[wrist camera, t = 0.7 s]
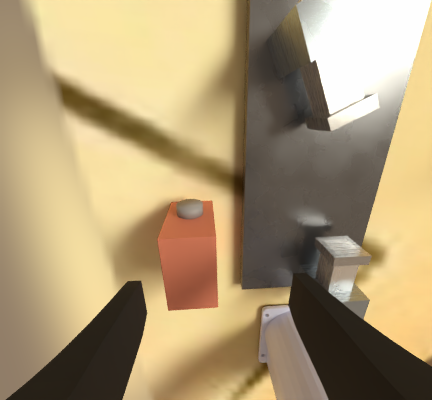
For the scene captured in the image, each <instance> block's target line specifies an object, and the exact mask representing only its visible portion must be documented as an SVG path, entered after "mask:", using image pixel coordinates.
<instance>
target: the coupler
mask: <svg viewBox="0 0 432 400" xmlns="http://www.w3.org/2000/svg"><path fill="white" fill-rule="evenodd" d="M157 241H158V247H159V254H160V260H161V267H162V273H163V280H164V286H165V293H166V299H167V306H168V311H170V310H185V309H200V308H215V307H218V291H217V257H216V233H215V223H214V213H213V204H212V201H200V200H196V199H187V200H182V201H180V202H172V203H171V205H170V208H169V210H168V213H167V216H166V218H165V221H164V223H163V226H162V229H161V231H160V234H159V236H158V239H157Z"/></svg>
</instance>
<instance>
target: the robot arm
mask: <svg viewBox="0 0 432 400" xmlns="http://www.w3.org/2000/svg"><path fill="white" fill-rule="evenodd" d="M146 316H147V310H146V304H145V299H144V293H143V288H142V283H141V281H128V282H127V283H126V284H125V285H124V286H123V287H122V288H121V289H120V290H119V291H118V293H117V294H116V295H115V296H114V297H113V298H112V299H111V301H110V302H109V303H108V304H107V305H106V306H105V307H104V308H103V309H102V310H101V312H99V314H98V315H97V316H96V317H95V318H94V319H93V320H92V321H91V322H90V323H89V324H88V325H87V326H86V327H85V328H84V329H83V330H82V331H81V332H80V333H79V334H78V335H77V337H75V338H74V339H73V340H72V341H71V343H69V344H68V345H67V346H66V347H65V348H64V349H63V350H62V351H61V352H60V353H59V354H58V355H57V356H56V357H55V358H54V359H53V360H51V362H49V363H48V364H47V365H46V366H45V367H44V368H43V369H42V370H40V371H39V372H38V373H37V374H36V375H35V376H34V377H33V378H32V379H30V380H29V381H28V382H27V383H26V384H24V385H23V386H22V387H21V388H20V389H18V390H17V391H16V392H15V393H13V394H12V395H11V396H10V397H9V398H7V399H6V400H122V399H123V396H124V393H125V390H126V386H127V383H128V380H129V377H130V374H131V371H132V368H133V364H134V362H135V358H136V355H137V352H138V349H139V346H140V343H141V339H142V336H143V331H144V326H145V321H146ZM258 360H259V362H260V363H267V365H268V369H269V373H270V377H271V380H272V384H273V388H274V392H275V396H276V400H432V367H431V366H430V365H428V364H427V363H425V362H424V361H422V360H421V359H419V358H417V357H416V356H414V355H413V354H411V353H410V352H408V351H407V350H405V349H404V348H402V347H401V346H399V345H398V344H396V343H395V342H393V341H392V340H390V339H389V338H388V337H386V336H385V335H383V334H382V333H381V332H379V331H378V330H376V329H375V328H374V327H372V326H371V325H370V324H368V323H367V322H366V321H364V320H363V319H362V318H360V317H359V316H358V315H357V314H355V313H354V312H353V311H351V310H350V309H349V308H348V307H346V306H345V305H344V304H343V303H342V302H340V301H339V300H338V299H337V298H335V297H334V296H333V295H332V294H331V293H329V292H328V291H327V290H326V289H325V288H323V287H322V286H321V285H320V284H319V283H318V282H316V281H315V280H314V279H313V278H312V277H310V276H309V275H308V274H307V273H293V279H292V285H291V292H290V298H289V304H288V305H279V306H266V307H263V309H262V315H261V328H260V340H259V353H258Z"/></svg>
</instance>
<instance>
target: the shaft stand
mask: <svg viewBox="0 0 432 400" xmlns="http://www.w3.org/2000/svg"><path fill="white" fill-rule="evenodd" d="M430 2H431V0H247V29H246V70H245V112H244V153H243V194H242V235H241V276H240V283H241V287H242V289H257V288H273V287H289V286H291V285H292V279H293V273H307V274H308V275H309V276H310V277H312V278H313V279H314V280H315V281H316V282H318V283H319V284H320V285H321V286H322V287H323V288H325V289H326V290H327V291H328V292H329V293H331V294H332V295H333V296H334V297H335V298H337V299H338V300H339V301H340V302H342V303H343V304H344V305H345V306H346V307H348V308H349V309H350V310H351V311H353V312H354V313H355V314H357V315H358V316H359V317H360V318H362V319H364V316H365V313H366V310H367V307H368V304H369V301H370V300H369V299H368V298H367V297H366V295H365V294H364V293H363V292H362V291H361V290H360V289H359V288H358V287H357V286H356V285H355V283H354V280H355V277H356V273H357V270H358V266H359V265H369V262H370V259H371V255H370V254H369V253H367V252H366V251H365V250H364V249H363V248H361V246H362V242H363V239H364V235H365V232H366V228H367V225H368V221H369V218H370V214H371V211H372V207H373V203H374V200H375V196H376V193H377V189H378V186H379V182H380V179H381V175H382V172H383V168H384V165H385V161H386V158H387V154H388V151H389V147H390V143H391V140H392V136H393V133H394V129H395V126H396V122H397V119H398V115H399V112H400V108H401V105H402V101H403V98H404V94H405V91H406V87H407V83H408V80H409V76H410V73H411V69H412V66H413V62H414V59H415V55H416V52H417V48H418V45H419V41H420V38H421V34H422V31H423V27H424V24H425V20H426V16H427V13H428V9H429V6H430Z"/></svg>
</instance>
